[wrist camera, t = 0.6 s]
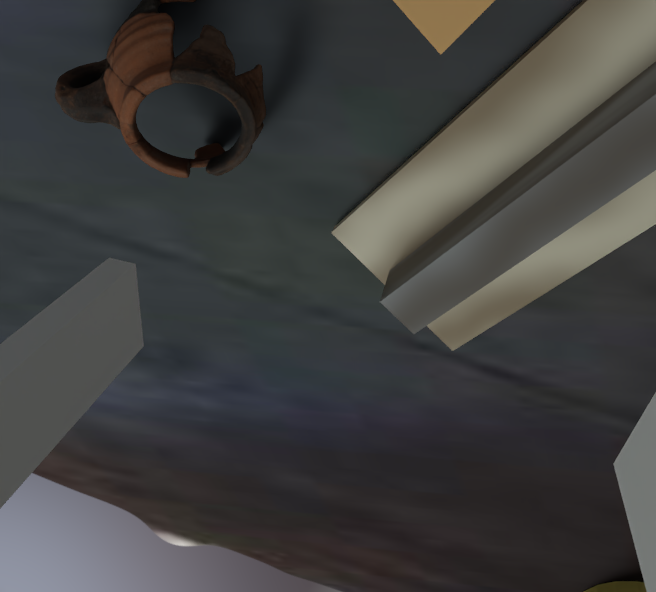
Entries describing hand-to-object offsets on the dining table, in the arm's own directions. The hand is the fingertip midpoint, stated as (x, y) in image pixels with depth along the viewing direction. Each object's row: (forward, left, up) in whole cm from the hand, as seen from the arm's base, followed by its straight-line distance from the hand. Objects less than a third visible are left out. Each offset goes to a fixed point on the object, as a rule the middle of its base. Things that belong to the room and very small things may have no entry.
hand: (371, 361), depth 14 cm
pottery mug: (-13, -9, -22) cm, 27 cm away
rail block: (+6, +2, -22) cm, 23 cm away
